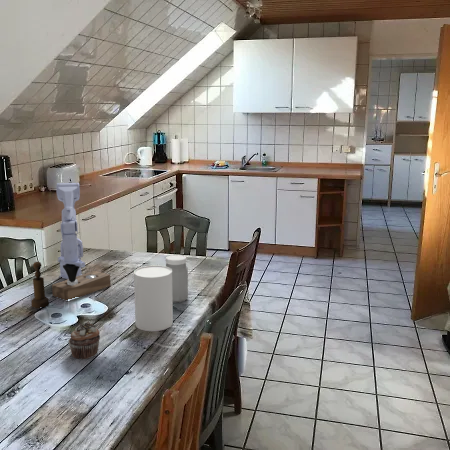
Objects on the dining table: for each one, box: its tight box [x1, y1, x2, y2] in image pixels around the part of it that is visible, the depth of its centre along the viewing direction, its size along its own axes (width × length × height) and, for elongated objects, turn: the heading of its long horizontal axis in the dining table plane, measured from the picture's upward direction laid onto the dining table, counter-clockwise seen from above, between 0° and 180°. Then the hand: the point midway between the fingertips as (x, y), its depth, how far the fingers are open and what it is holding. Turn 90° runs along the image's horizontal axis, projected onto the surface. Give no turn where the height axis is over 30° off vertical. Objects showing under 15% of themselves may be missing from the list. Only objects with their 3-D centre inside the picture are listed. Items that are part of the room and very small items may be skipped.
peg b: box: [86, 275, 96, 279], centre depth 216 cm, size 4×4×5 cm
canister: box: [133, 264, 174, 332], centre depth 180 cm, size 14×14×20 cm
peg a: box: [66, 279, 78, 286], centre depth 208 cm, size 4×4×5 cm
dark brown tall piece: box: [30, 261, 50, 309], centre depth 195 cm, size 7×6×18 cm
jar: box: [165, 254, 189, 304], centre depth 203 cm, size 10×10×18 cm
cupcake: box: [68, 321, 101, 360], centre depth 158 cm, size 10×10×10 cm
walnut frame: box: [51, 270, 112, 301], centre depth 212 cm, size 10×23×5 cm, turn 147°
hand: (72, 280), depth 208 cm, fingers closed, pressing on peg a
